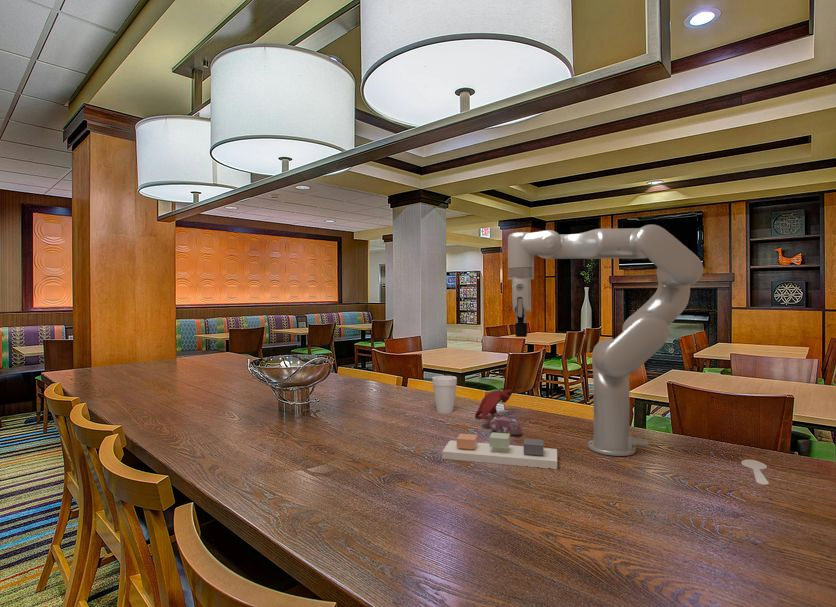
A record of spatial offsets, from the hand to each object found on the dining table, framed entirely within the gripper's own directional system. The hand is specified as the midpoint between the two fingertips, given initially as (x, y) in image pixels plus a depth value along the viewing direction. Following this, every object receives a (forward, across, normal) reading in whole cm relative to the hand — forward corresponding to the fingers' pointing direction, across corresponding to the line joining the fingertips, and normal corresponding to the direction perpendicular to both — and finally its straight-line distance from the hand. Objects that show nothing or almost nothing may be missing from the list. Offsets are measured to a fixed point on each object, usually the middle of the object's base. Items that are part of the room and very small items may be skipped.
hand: (521, 336), depth 137 cm
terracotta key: (+30, -13, +14) cm, 35 cm away
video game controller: (+32, +9, +6) cm, 34 cm away
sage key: (+29, -13, +5) cm, 32 cm away
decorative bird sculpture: (+32, +26, +12) cm, 43 cm away
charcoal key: (+30, -13, -4) cm, 33 cm away
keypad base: (+32, -13, +5) cm, 35 cm away
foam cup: (+32, +33, +31) cm, 56 cm away
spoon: (+33, -7, -58) cm, 67 cm away
